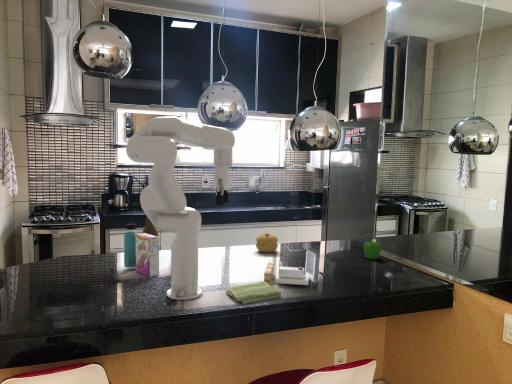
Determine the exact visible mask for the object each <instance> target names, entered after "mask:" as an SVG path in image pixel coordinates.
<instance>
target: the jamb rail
mask: <svg viewBox="0 0 512 384" xmlns="http://www.w3.org/2000/svg"><path fill="white" fill-rule="evenodd" d="M266 264H267V265H266V267H265V270H264V273H263V275H264V276H263V281H265V282H267V283H269V284H270V285H271V284H272V280H273V278H274V277H273V276H274V266H275V265H274V264H275V263H274V262H268V263H266ZM271 286H272V285H271Z"/></svg>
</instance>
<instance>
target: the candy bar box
mask: <svg viewBox="0 0 512 384" xmlns="http://www.w3.org/2000/svg"><path fill="white" fill-rule="evenodd" d="M135 251H136V267H135V272H136V273H137V274H138V273H139V274H140V275H143V276H147V277H148V278H153V277H156V276H159V275H160V236H158V237H157V236H153V235H150V234H147V233H142V232H141V233H139V234H135Z"/></svg>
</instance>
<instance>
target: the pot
mask: <svg viewBox="0 0 512 384" xmlns="http://www.w3.org/2000/svg"><path fill="white" fill-rule="evenodd" d="M278 241H279V239H278V237H277V235H275V234H270V233H268V232H266V233H263V234H259V235H258V236H256V238H255V242H256V243H255V247H256V249H257V250H258V251H260V252H262V253H267V254H269V253H272V252H275V251H276V250H277V248H278V246H279V244H278Z"/></svg>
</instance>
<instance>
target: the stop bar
mask: <svg viewBox="0 0 512 384" xmlns="http://www.w3.org/2000/svg"><path fill="white" fill-rule="evenodd" d="M278 273H279V278H285V279H302V280H304V275H305V267H303V266H298V267H297V266H296V267H295V266H279V268H278Z"/></svg>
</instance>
